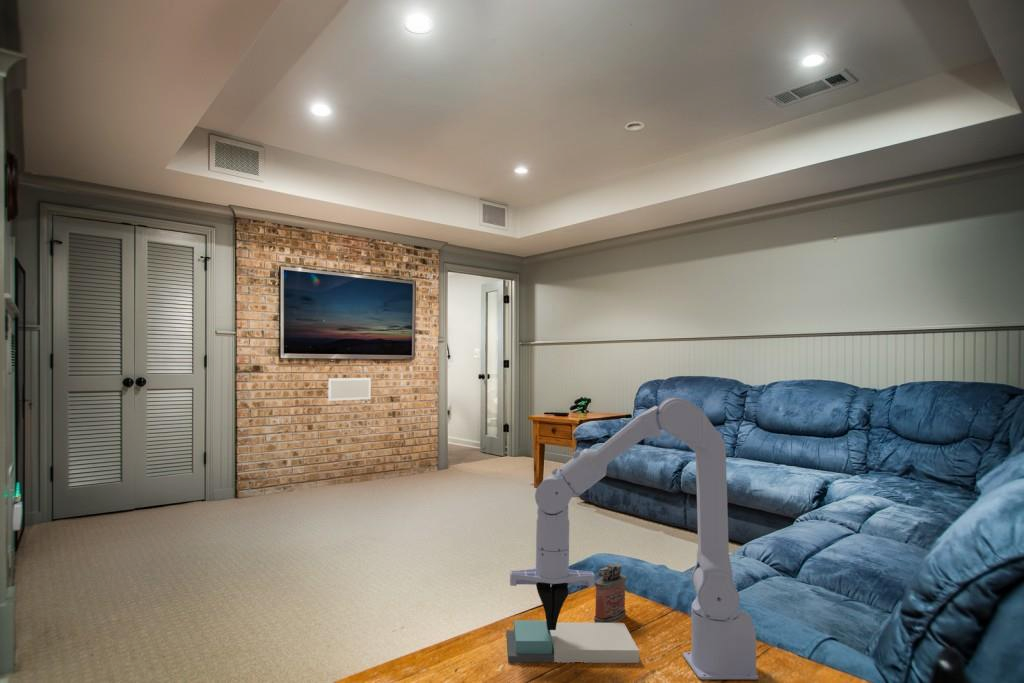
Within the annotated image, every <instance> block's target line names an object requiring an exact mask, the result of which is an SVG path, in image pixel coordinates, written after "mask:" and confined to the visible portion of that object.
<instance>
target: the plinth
mask: <svg viewBox="0 0 1024 683" xmlns="http://www.w3.org/2000/svg"><path fill="white" fill-rule="evenodd" d="M550 633H551V637H552V649H553V653H554V663H555V662H557V663H560V662H561V663H565V664H566V663H570V662H572V664H575V663H574V662H581V663H582V662H584V663H583V664H585V663H586V664H590V662H591V664H594V663H595V664H599V663H600V664H604V663H605V664H607V663H608V664H616V663H617V664H640V649H639V648H638V645H637V644H636V642H635V640H634V638H633V637H632V635H631V633H630V632H629V629H628V628H627V626H626V624H625V623H624V622H613V623H595V622H558V621H557V624H556V630H550ZM557 663H556V664H557ZM561 663H560V664H561ZM581 663H580V664H581Z"/></svg>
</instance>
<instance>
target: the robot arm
mask: <svg viewBox="0 0 1024 683" xmlns="http://www.w3.org/2000/svg"><path fill="white" fill-rule="evenodd" d="M661 430H663V431H664V432H665V433H666V434H667V435H669V436H672V437H673V438H674V439H676V440H679V441H681V442H683V443H684V444H685V445H686V446H688V447H689V449H691V450H692V451H693V452H694V453H695V472H696V473H695V474H696V479H695V480H696V481H695V482H696V514H697V515H696V516H697V518H696V519H697V520H696V521H697V552H696V564H695V566H694V568H693V570H692V573H691V584H692V587H693V589H694V590H695V592H696V596H695V598H694V600H693V601H692V602H691V610H690V611H691V614H690V615H691V617H690V618H691V619H690V621H691V622H690V623H691V624H690V625H691V635H690V637H691V643H690V644H691V645H690V648H691V650H690V651H684V652H682V657H683V658H684V659H685V661H686V662H687V664H688V665H689V667H690V668H691V669H692V670H693V672H694V674H695V675H696V676H697V678H698V679H699V680H758V679H759V675H758V674H757V633H756V628H755V624H754V621H753V619H752V617H751V615H750V613H748V612H747V611H746V610H739V607H740V603H741V600H740V599H741V598H740V593H739V591H738V589H737V587H736V586H735V583H734V578H733V569H732V563H731V558H730V552H729V550H730V549H729V548H730V547H729V546H730V545H729V519H728V518H729V516H728V514H729V513H728V486H727V485H728V484H727V483H728V481H727V479H728V477H727V453H726V452H727V448H726V443H725V440H724V439H723V438H722V436H721V434H719V432H718V431H717V429H716V428H715V426H714V425H713V424H712V421H710V420H709V418H708V416H707V415H706V414H705V412H704V411H703V410H702V409H701V408H699V407H698V406H697V405H695V404H694V403H693V402H690V401H689V400H687V399H684V398H681V397H676V396H673V397H671V396H670V397H668V398H665V399H664V400H662V401H661V402H660V403H659V404H658V406H657V405H654V406H652V407H650V408H649V409H647V410H646V411H644V412H641V413H640V414H639V415H636V417H634V418H633V419H632V420H631V421H629V423H627V424H626V425H625V426H624V427H622V428H621V429H620V430H619V431H617V432H616V433H615V434H614V435H612V437H610V438H609V439H607V440H606V441H605V442H604V443H603V444H602V445H600V446H599V447H598V448H596V449H591V448H584V449H582V450H581V451H580V450H579V449H577V450H576V451H574V452H573V453H572V458H571V459H570V460H568V461H567V462H566V463H564V464H563V465H562V466H561V467H559V468H557V467H555V468H553V469H552V470H551V474H552V475H549V476H547V477H545V478H544V479H543V480H542V481H541V483H539V485H538V486H537V488H536V491H535V495H534V497H535V498H534V499H535V503H536V505H537V519H536V537H535V538H536V540H535V548H536V549H535V568H528V569H521V570H520V569H518V570H510V571H509V583H510V584H509V585H510V586H511V587H512V586H513V587H516V586H517V585H527V586H528V585H531V586H532V585H535V588H536V590H537V594H538V596H539V598H540V602H541V604H542V606H543V610H544V614H545V621H546V625H547V629H548V630H556V624H557V622H558V620H559V617H560V613H561V610H562V608H563V606H564V603H565V601H566V599H567V598H568V596H569V591H570V590H569V586H587V587H589V588H590V587H595V580H596V579H595V576H596V575H595V573H594V572H593V571H592V570H590V571H589V570H588V571H587V570H577V569H570V564H569V563H570V520H569V503H570V501H571V499H572V498H577V497H579V496H581V495H582V494H583V493H584V492H586V491H587V490H588V489H590V488H591V487H592V486H594V485H595V484H596V483H597V482H599V481H600V480H602V479H603V478H604V477H606V475H607V468H608V465H609V464H610V463H611V462H613V461H614V460H616V459H617V458H618V457H620V456H621V455H623V454H624V453H625V452H627V451H628V450H630V449H631V448H632V447H633V446H635V445H636V444H638V443H640V442H641V441H642V440H644V439H650V438H660V437H663V435H662V433H661Z"/></svg>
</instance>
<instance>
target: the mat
mask: <svg viewBox="0 0 1024 683" xmlns="http://www.w3.org/2000/svg"><path fill="white" fill-rule="evenodd" d="M505 632H506V633H505V634H506V639H507V640H506V650H507V652H506V653H507V663H531V664H532V663H533V664H534V663H537V664H539V663H543V664H544V663H548V662H549V663H550V662H553V663H554V653H553V649H552V654H516V650H515V640H514V629H506V631H505ZM549 663H548V664H549ZM553 663H552V664H553Z"/></svg>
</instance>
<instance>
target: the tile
mask: <svg viewBox="0 0 1024 683" xmlns="http://www.w3.org/2000/svg"><path fill="white" fill-rule="evenodd" d="M513 630H514V640H515V650H516V654H552V637H551V633H550V630H548V629H547V625H546V620H539V619H538V620H533V619H532V620H530V619H529V620H526V619H525V620H524V619H523V620H522V619H520V620H516V619H515V620H513Z"/></svg>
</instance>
